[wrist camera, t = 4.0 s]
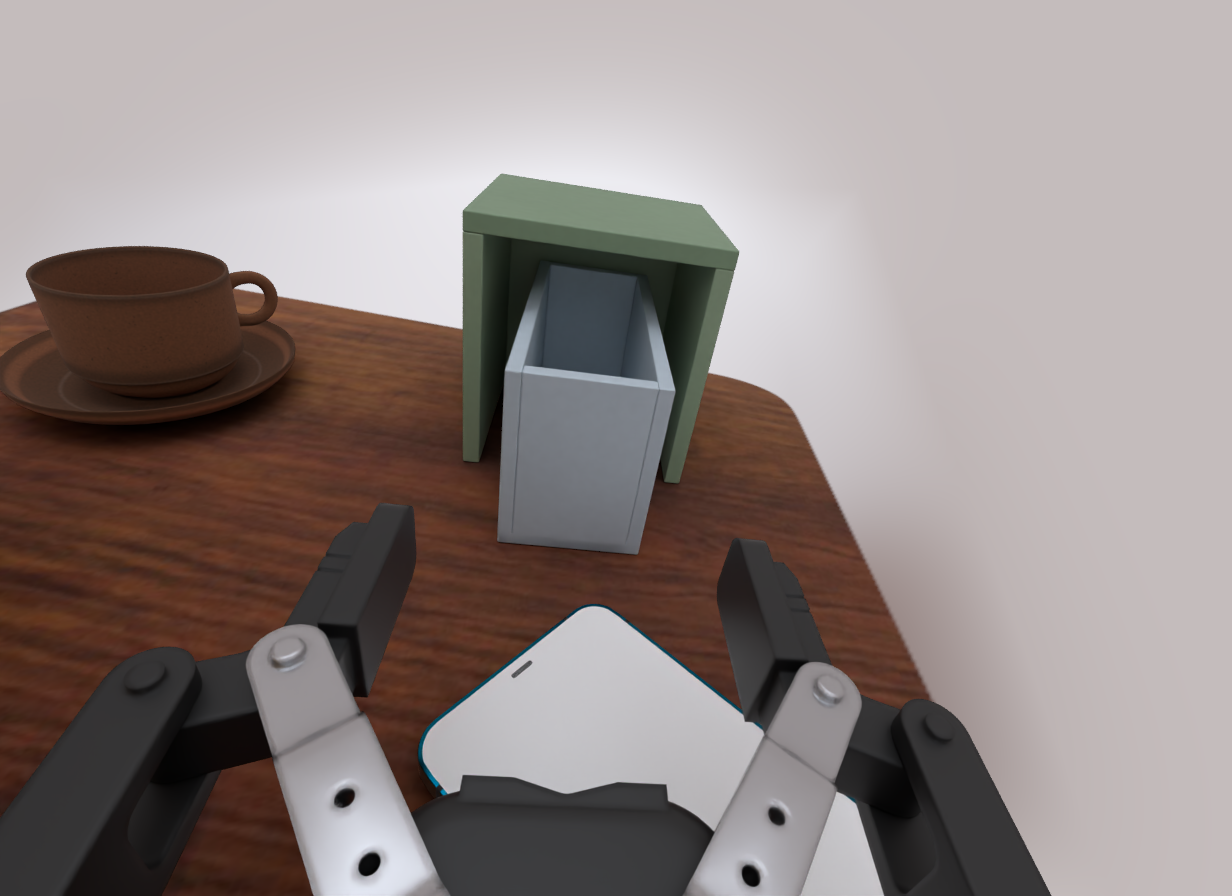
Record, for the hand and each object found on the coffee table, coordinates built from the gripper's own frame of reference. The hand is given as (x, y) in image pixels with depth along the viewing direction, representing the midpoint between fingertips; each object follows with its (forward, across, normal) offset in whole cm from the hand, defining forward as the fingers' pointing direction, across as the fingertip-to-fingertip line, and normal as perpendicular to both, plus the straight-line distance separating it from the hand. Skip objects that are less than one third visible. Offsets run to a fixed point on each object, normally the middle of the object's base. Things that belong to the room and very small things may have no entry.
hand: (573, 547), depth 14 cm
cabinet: (+18, 0, +7) cm, 19 cm away
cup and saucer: (+17, +21, +7) cm, 28 cm away
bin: (+14, 0, +7) cm, 16 cm away
